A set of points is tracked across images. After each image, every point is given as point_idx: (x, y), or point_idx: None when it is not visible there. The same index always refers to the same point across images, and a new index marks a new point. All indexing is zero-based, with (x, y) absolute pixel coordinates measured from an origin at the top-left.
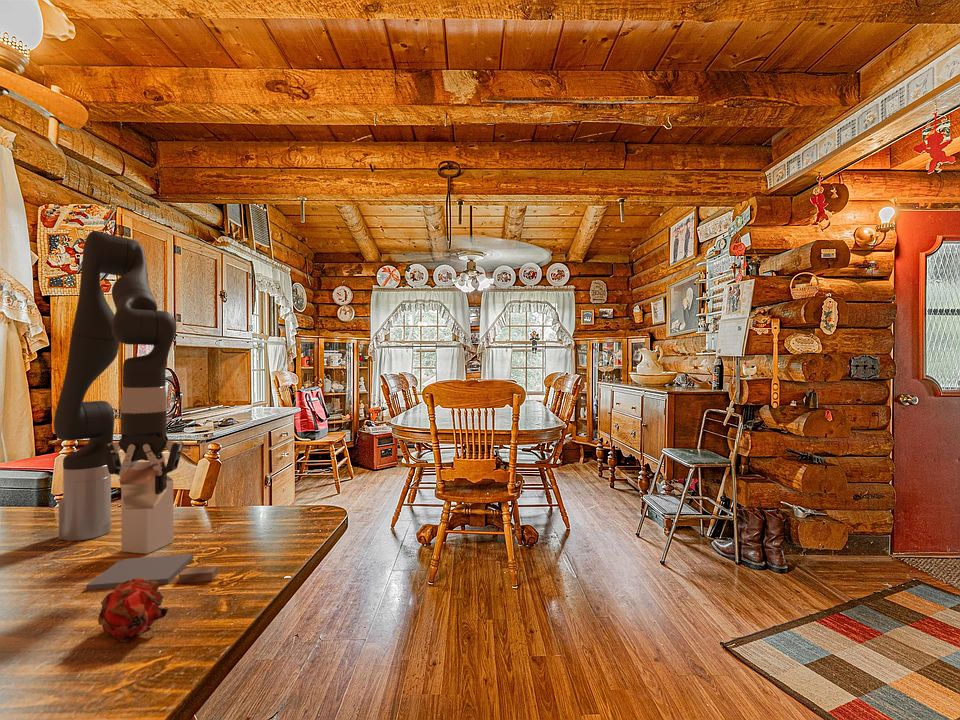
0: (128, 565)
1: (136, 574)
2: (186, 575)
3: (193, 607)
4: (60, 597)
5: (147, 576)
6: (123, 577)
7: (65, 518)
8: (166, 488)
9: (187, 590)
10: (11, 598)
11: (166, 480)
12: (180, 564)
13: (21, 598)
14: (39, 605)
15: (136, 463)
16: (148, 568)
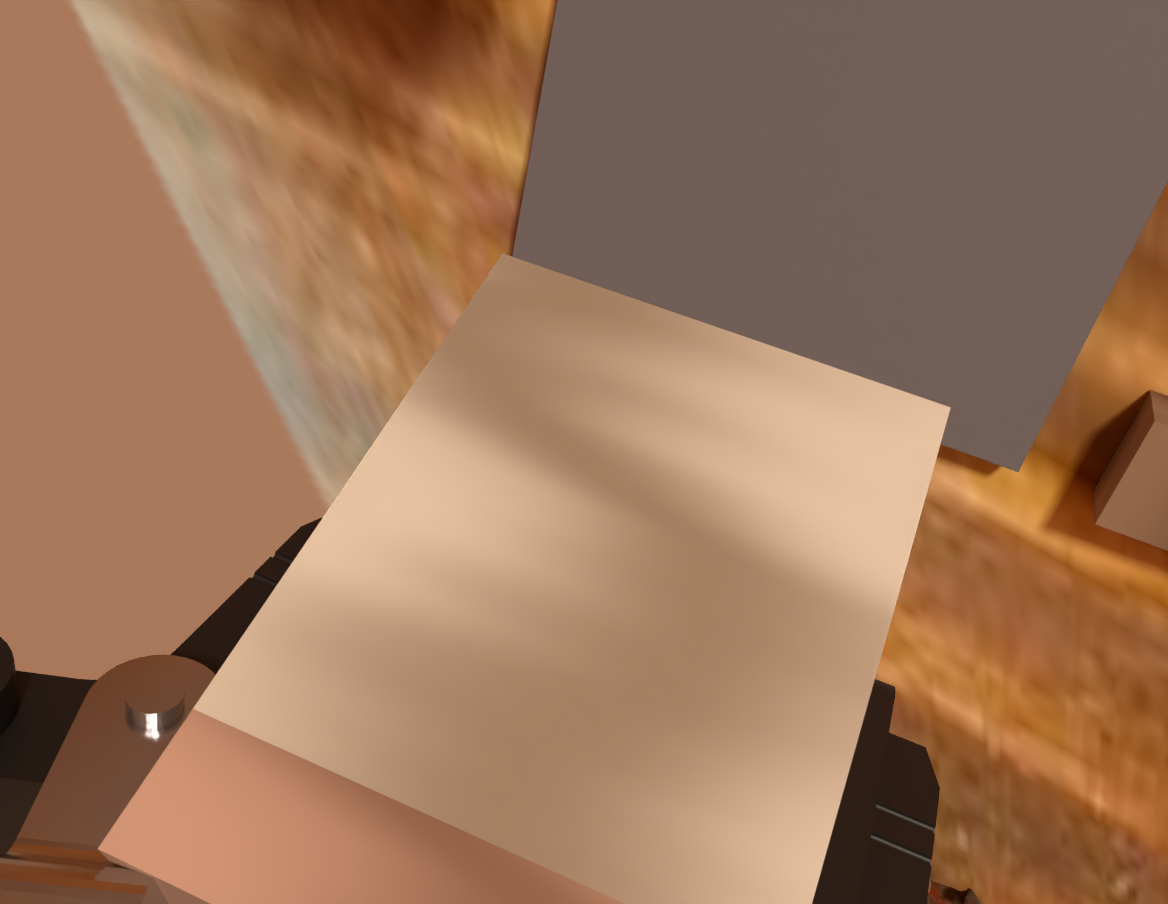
0: (689, 10)
1: (786, 265)
2: (1150, 542)
3: (1155, 849)
4: (416, 304)
5: (869, 351)
6: (705, 277)
7: None
8: (936, 455)
9: (1142, 628)
10: (169, 172)
11: (926, 895)
12: (1123, 218)
13: (220, 201)
14: (357, 359)
15: (177, 901)
16: (860, 178)
